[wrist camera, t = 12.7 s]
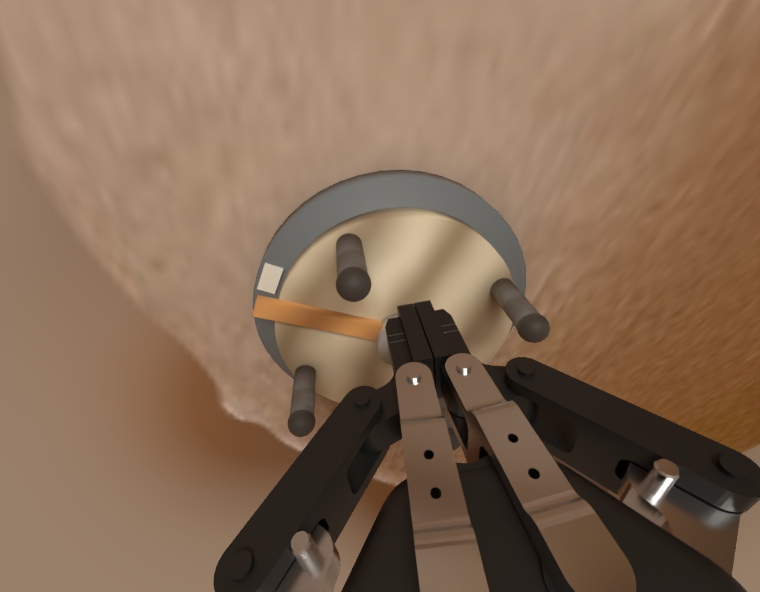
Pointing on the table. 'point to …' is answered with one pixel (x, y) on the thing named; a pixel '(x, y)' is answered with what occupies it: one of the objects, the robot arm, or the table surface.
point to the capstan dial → (387, 301)
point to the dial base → (371, 196)
